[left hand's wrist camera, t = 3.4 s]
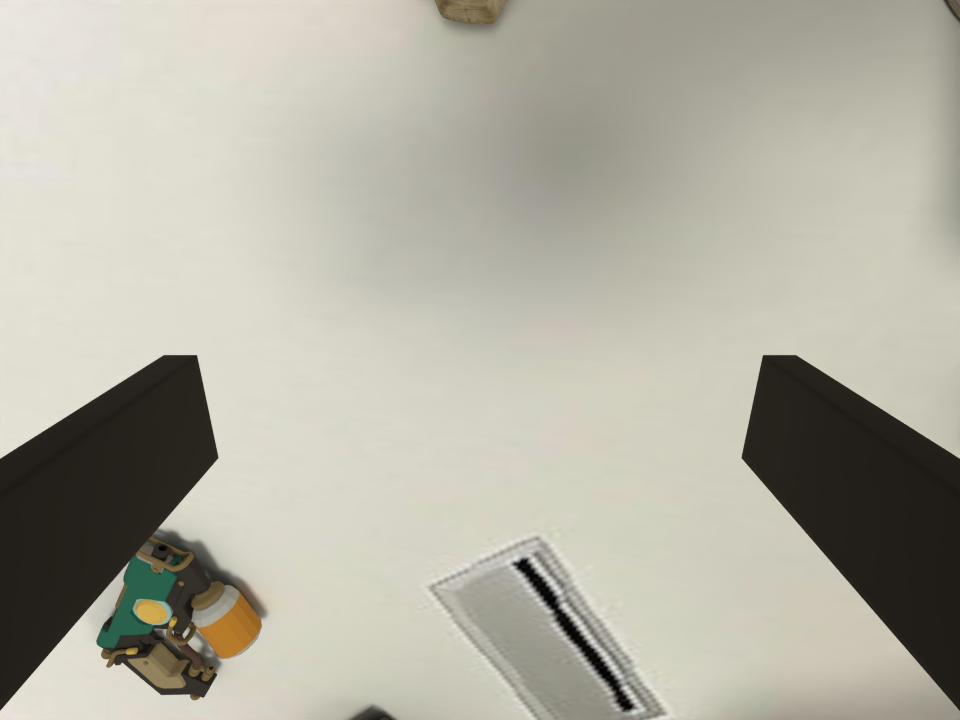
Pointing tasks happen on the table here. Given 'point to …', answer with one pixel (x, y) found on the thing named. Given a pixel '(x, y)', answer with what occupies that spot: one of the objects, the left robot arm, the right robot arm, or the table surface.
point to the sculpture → (471, 10)
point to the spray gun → (175, 621)
